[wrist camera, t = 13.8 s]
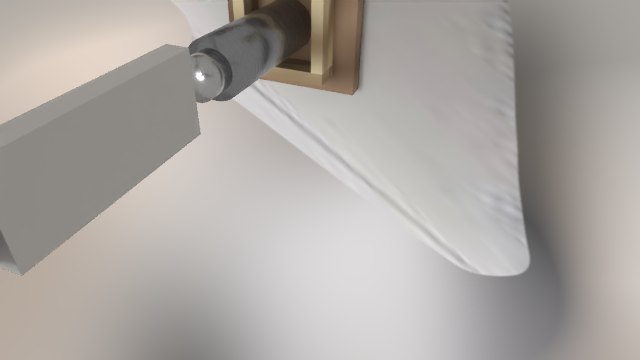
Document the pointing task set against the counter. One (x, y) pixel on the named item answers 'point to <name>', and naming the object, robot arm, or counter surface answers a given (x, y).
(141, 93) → the robot arm
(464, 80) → the counter surface
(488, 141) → the counter surface
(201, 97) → the grey cylinder
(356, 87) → the tool stand
